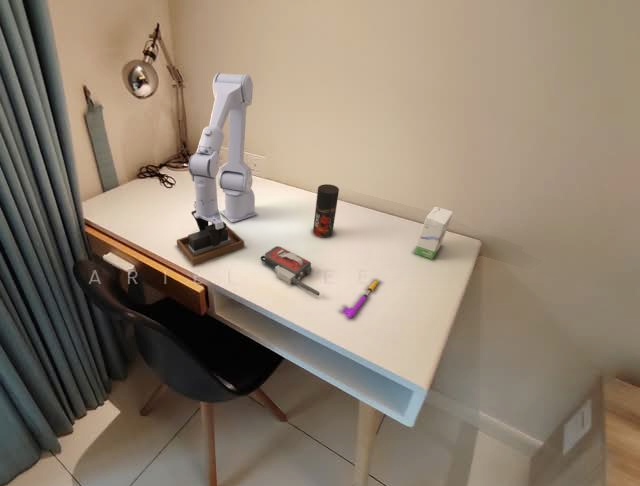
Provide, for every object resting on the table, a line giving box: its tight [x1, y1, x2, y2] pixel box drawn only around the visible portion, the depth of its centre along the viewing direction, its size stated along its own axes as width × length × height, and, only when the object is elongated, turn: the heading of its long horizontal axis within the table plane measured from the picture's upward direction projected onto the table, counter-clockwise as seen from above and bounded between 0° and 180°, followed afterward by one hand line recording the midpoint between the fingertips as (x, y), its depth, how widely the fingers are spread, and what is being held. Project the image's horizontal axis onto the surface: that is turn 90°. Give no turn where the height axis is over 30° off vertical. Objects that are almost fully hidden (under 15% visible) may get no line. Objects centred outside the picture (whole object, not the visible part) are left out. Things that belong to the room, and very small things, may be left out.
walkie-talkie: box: [260, 246, 320, 296], centre depth 92 cm, size 9×4×20 cm
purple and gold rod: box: [341, 280, 380, 319], centre depth 85 cm, size 3×1×16 cm
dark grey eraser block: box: [187, 228, 231, 255], centre depth 103 cm, size 12×4×5 cm, turn 121°
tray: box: [176, 224, 245, 267], centre depth 104 cm, size 16×11×2 cm
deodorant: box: [312, 183, 340, 239], centre depth 105 cm, size 6×6×15 cm
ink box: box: [414, 206, 454, 260], centre depth 98 cm, size 8×5×12 cm, turn 140°
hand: (210, 238), depth 103 cm, fingers open, 7 cm apart
